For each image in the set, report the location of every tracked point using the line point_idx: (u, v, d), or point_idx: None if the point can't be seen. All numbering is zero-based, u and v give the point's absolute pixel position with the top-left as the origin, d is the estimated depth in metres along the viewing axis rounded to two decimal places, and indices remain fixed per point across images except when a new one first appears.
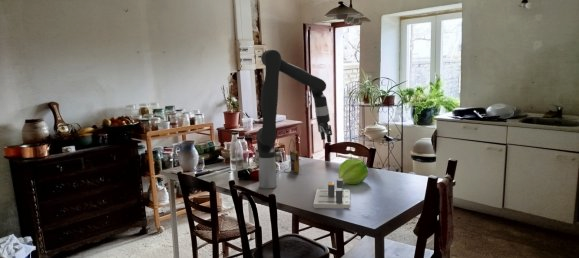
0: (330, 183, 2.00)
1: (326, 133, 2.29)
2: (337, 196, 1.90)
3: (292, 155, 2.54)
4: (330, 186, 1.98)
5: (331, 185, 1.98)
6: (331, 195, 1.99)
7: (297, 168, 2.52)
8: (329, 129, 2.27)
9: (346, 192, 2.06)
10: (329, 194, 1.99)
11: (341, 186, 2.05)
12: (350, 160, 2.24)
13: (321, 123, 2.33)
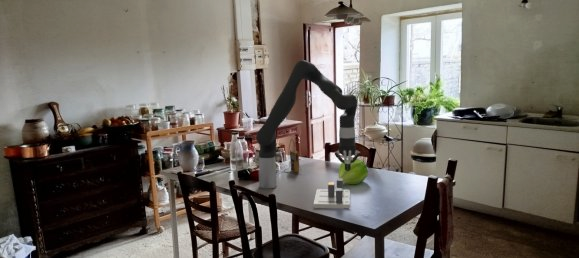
0: (330, 183, 2.00)
1: None
2: (337, 196, 1.90)
3: (292, 155, 2.53)
4: (330, 186, 1.98)
5: (331, 185, 1.98)
6: (331, 195, 1.99)
7: (297, 168, 2.52)
8: (337, 157, 1.97)
9: (346, 192, 2.06)
10: (329, 194, 1.99)
11: (341, 186, 2.05)
12: None
13: None
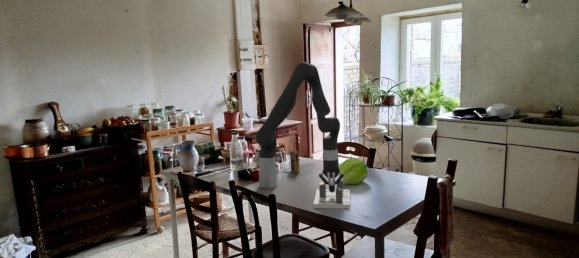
0: (321, 183, 2.00)
1: None
2: (337, 196, 1.90)
3: (292, 155, 2.53)
4: (321, 186, 1.98)
5: (322, 185, 1.98)
6: (322, 195, 1.99)
7: (297, 168, 2.52)
8: None
9: (346, 192, 2.06)
10: (320, 194, 1.99)
11: (341, 186, 2.05)
12: (350, 160, 2.24)
13: None
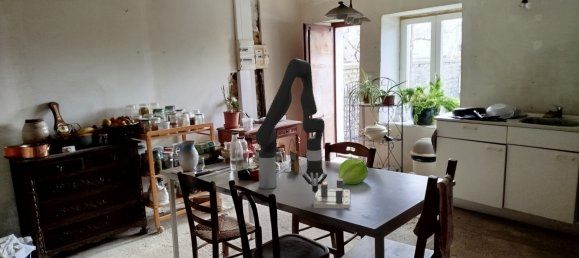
0: (323, 183, 2.00)
1: None
2: (337, 196, 1.90)
3: (292, 155, 2.53)
4: (323, 186, 1.98)
5: (324, 185, 1.98)
6: (324, 195, 1.99)
7: (297, 168, 2.52)
8: None
9: (346, 192, 2.06)
10: (322, 194, 1.99)
11: (341, 186, 2.05)
12: (350, 160, 2.24)
13: None
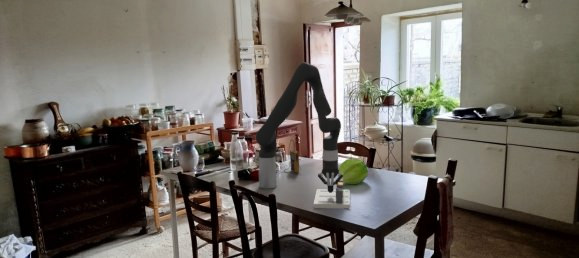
0: (338, 183, 1.99)
1: None
2: (337, 196, 1.90)
3: (292, 155, 2.54)
4: (339, 186, 1.97)
5: (340, 185, 1.97)
6: None
7: (297, 168, 2.52)
8: None
9: (346, 192, 2.06)
10: None
11: None
12: (350, 160, 2.24)
13: None
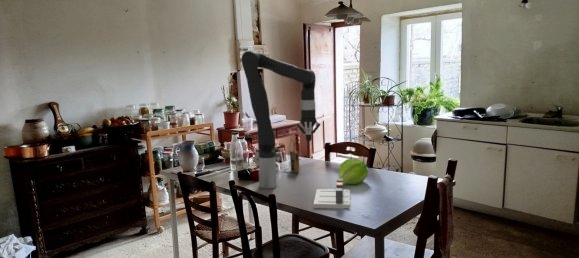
0: (338, 183, 1.99)
1: None
2: (337, 196, 1.90)
3: (292, 155, 2.53)
4: (338, 186, 1.97)
5: (339, 185, 1.97)
6: None
7: (297, 168, 2.52)
8: (299, 128, 2.12)
9: (346, 192, 2.06)
10: None
11: None
12: (350, 160, 2.24)
13: None
